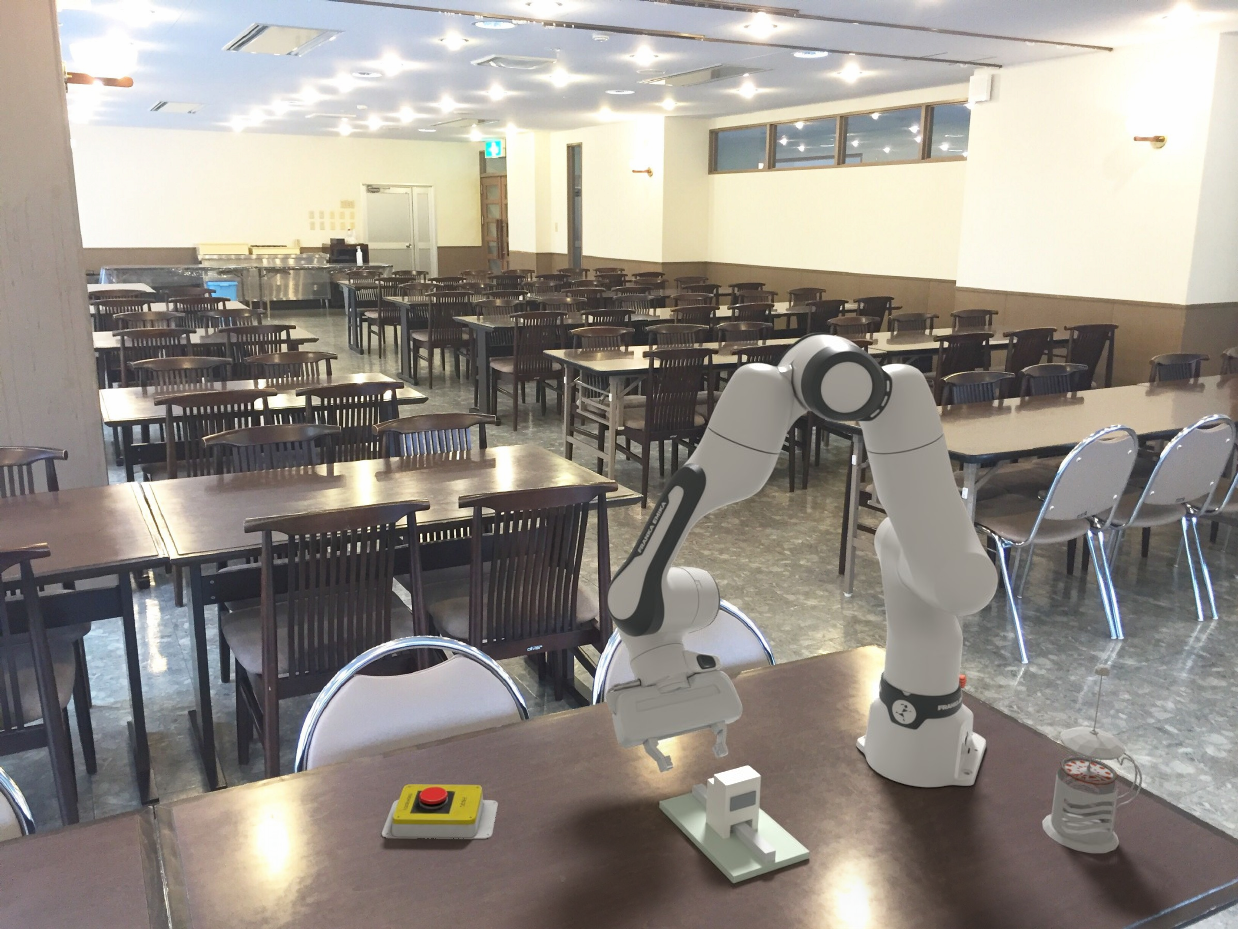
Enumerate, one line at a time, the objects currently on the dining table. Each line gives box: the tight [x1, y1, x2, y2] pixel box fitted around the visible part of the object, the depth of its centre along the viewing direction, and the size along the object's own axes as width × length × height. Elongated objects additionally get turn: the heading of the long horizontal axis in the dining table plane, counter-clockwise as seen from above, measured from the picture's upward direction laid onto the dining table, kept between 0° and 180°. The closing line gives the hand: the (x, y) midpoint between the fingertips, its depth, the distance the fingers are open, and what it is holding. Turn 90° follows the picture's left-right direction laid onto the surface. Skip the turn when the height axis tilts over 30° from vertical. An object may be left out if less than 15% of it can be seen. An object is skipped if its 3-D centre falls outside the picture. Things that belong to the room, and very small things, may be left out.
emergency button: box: [381, 783, 499, 840], centre depth 138 cm, size 9×4×15 cm
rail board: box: [658, 783, 810, 884], centre depth 136 cm, size 19×12×2 cm, turn 27°
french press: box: [1041, 664, 1143, 854], centre depth 135 cm, size 10×12×25 cm
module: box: [706, 765, 762, 839], centre depth 135 cm, size 5×6×8 cm
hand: (695, 763), depth 143 cm, fingers open, 8 cm apart
